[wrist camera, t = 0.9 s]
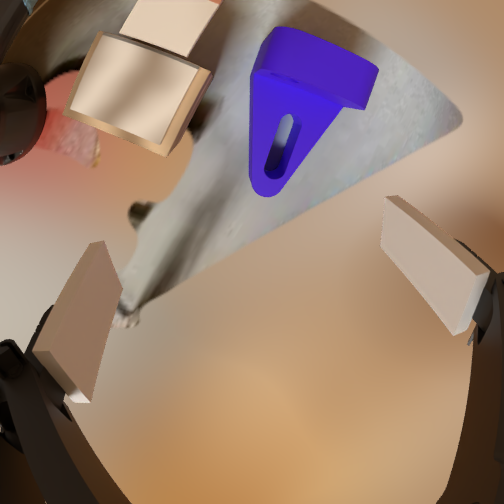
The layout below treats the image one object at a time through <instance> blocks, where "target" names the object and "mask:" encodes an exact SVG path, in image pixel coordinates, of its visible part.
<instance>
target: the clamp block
mask: <svg viewBox="0 0 504 504" xmlns="http://www.w3.org/2000/svg"><path fill="white" fill-rule="evenodd" d="M212 80H213V76H212V74H211V71H208V70H206V69H204V68H202V67H200V66H198V65H196V64H194V63H191V62H189V61H187V60H184V59H182V58H179V57H177V56H174V55H172V54H169V53H167V52H164V51H161V50H159V49H156V48H153V47H151V46H148V45H145V44H142V43H139V42H136V41H133V40H130V39H127V38H124V37H121V36H117V35H114V34H111V33H107V32H102V31H99V32H98V34H97V36H96V38H95V40H94V41H93V43H92V45H91V47H90V50H89V52H88V54H87V56H86V58H85V60H84V62H83V64H82V67H81V69H80V71H79V74H78V76H77V78H76V81H75V83H74V85H73V88H72V90H71V93H70V96H69V98H68V101H67V104H66V106H65V109H64V112H63V115H64V116H67V117H69V118H72V119H75V120H77V121H80V122H82V123H85V124H87V125H90V126H92V127H95V128H97V129H100V130H102V131H105V132H107V133H110V134H112V135H115V136H117V137H120V138H122V139H124V140H127V141H129V142H132V143H134V144H136V145H139V146H141V147H143V148H146V149H148V150H150V151H153V152H155V153H157V154H159V155H162V156H164V157H167V156H168V155H169V154H170V153H171V151H172V150H173V149H174V148H175V147H176V145H177V144H178V143H179V142H180V140H181V138H182V136H183V134H184V132H185V130H186V128H187V126H188V124H189V122H190V120H191V118H192V116H193V115H194V113H195V111H196V109H197V107H198V105H199V103H200V101H201V99H202V98H203V96H204V94H205V92H206V90H207V89H208V87H209V85H210V83H211V81H212Z"/></svg>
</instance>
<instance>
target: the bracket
mask: <svg viewBox="0 0 504 504" xmlns="http://www.w3.org/2000/svg"><path fill="white" fill-rule="evenodd" d="M378 72H379V69H378V67H377V66H375V65H374V64H373V63H371V62H369V61H367V60H365V59H364V58H362V57H360V56H358V55H356V54H354V53H352V52H349V51H347V50H345V49H343V48H341V47H339V46H337V45H334V44H332V43H330V42H328V41H325V40H323V39H321V38H318V37H316V36H313V35H311V34H308V33H306V32H303V31H300V30H297V29H294V28H289V27H275V28H274V29H273V30H272V32H271V33H270V34H269V35H268V37H267V38H266V39H265V40H264V41H263V43H262V44H261V47H260V50H259V52H258V55H257V58H256V61H255V63H254V66H253V69H252V72H251V75H250V116H249V178H250V181H251V184H252V187H253V189H254V191H255V192H256V193H257V194H258V195H260V196H263V197H272V196H274V195H276V194H278V193H279V192H280V191H281V189H282V188H283V187H284V185H285V184H286V183H287V181H288V180H289V179H290V177H291V176H292V175H293V173H294V172H295V170H296V169H297V168H298V166H299V165H300V164H301V162H302V161H303V160H304V158H305V157H306V156H307V154H308V153H309V152H310V150H311V149H312V148H313V146H314V145H315V144H316V142H317V141H318V140H319V138H320V137H321V136H322V134H323V133H324V132H325V130H326V129H327V128H328V126H329V125H330V124H331V123H332V121H333V120H334V119H335V117H336V116H337V115H338V113H339V112H340V111H341V109H342V108H343V107H348V108H354V109H360V110H365V108H366V106H367V103H368V100H369V97H370V94H371V92H372V89H373V86H374V83H375V80H376V77H377V74H378ZM286 114H291V115H292V117H293V120H294V123H293V126H292V129H291V132H290V134H289V137H288V140H287V143H286V146H285V148H284V151H283V154H282V157H281V160H280V163H279V165H278V167H277V168H276V169H274V170H272V171H267V170H264V166H265V163H266V160H267V157H268V154H269V151H270V148H271V146H272V143H273V140H274V137H275V134H276V131H277V128H278V125H279V123H280V120H281V118H282V117H283V116H284V115H286Z"/></svg>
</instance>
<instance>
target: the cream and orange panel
mask: <svg viewBox="0 0 504 504" xmlns="http://www.w3.org/2000/svg"><path fill="white" fill-rule="evenodd" d="M223 1H224V0H138V2H137V3H136V5H135V7H134V8H133V10H132V11H131V13H130V15H129V16H128V18H127V20H126V21H125V23H124V25H123V27H122V28H121V30H120V32H119V33H121V34H123V35H126V36H129V37H132V38H135V39H138V40H141V41H144V42H147V43H150V44H153V45H155V46H158V47H161V48H164V49H166V50H169V51H171V52H174V53H177V54H179V55H181V56H184V57H186V58H188V56H189V54H190V53H191V51H192V49H193V48H194V46H195V44H196V42H197V41H198V39H199V38H200V36H201V34H202V33H203V31H204V30H205V28H206V26H207V25H208V23H209V22H210V20H211V19H212V17H213V16H214V14H215V13H216V11H217V10H218V8H219V7H220V5H221V4H222V2H223Z"/></svg>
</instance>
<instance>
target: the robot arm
mask: <svg viewBox="0 0 504 504" xmlns="http://www.w3.org/2000/svg"><path fill="white" fill-rule="evenodd" d="M37 1H38V0H0V165H1V166H2V165H7V164H10V163H12V162H14V161H16V160H18V159H20V158H22V157H24V156H25V155H26V154H27V153H28V152H29V151H30V150H31V149H32V148H33V147H34V145H35V144H36V142H37V140H38V138H39V136H40V134H41V131H42V129H43V125H44V122H45V116H46V92H45V88H44V85H43V82H42V80H41V78H40V76H39V74H38V73H37V72H36V71H35V70H34V69H33V68H32V67H30V66H29V65H27V64H23V63H6V64H2V65H1V63H2V61H3V59H4V57H5V55H6V53H7V51H8V49H9V48H10V46H11V44H12V42H13V40H14V39H15V37H16V35H17V34H18V32H19V30H20V28H21V27H22V25H23V24H24V22H25V20H26V19H27V17H28V16H30V15H31V13H32V11H33V7H34V6H35V4H36V2H37ZM380 247H381V248H382V249H383V251H384V252H385V253H386V254H387V255H388V256H389V257H390V258H391V260H392V261H393V262H394V263H395V264H396V265H397V267H398V268H399V269H400V270H401V271H402V272H403V274H404V275H405V276H406V277H407V278H408V279H409V281H410V282H411V283H412V284H413V285H414V287H415V288H416V289H417V290H418V291H419V293H420V294H421V295H422V296H423V298H424V299H425V300H426V301H427V303H428V304H429V305H430V306H431V308H432V309H433V310H434V312H435V313H436V314H437V315H438V317H439V318H440V319H441V321H442V322H443V323H444V325H445V326H446V327H447V328H448V330H449V331H450V333H451V334H452V335H453V336H454V335H456V334H459V333H461V332H464V331H466V330H467V329H468V326H469V324H470V322H471V320H472V318H473V320H474V321H475V322H476V323H477V324H476V326H475V328H474V330H473V333H472V335H471V337H470V339H469V341H468V345H470V343H471V341H473V355H472V366H471V376H470V384H469V392H468V399H467V405H466V411H465V417H464V422H463V427H462V432H461V436H460V441H459V445H458V449H457V453H456V457H455V460H454V464H453V468H452V471H451V475H450V478H449V481H448V484H447V487H446V489H445V491H444V493H443V495H442V496H441V497H440V499H439V500H438V501H437V503H436V504H504V272H501V273H498V274H497V273H496V272H495V271H494V270H493V269H492V268H491V267H490V266H489V265H488V264H486V263H485V262H484V261H483V260H482V259H481V258H480V257H479V256H478V257H477V255H476V254H475V253H474V252H473V251H471V249H470V248H468V247H467V246H466V245H465V244H464V243H462V242H460V241H458V240H456V239H454V238H452V237H451V236H450V235H449V234H447V233H446V232H445V231H444V230H443V229H441V228H440V227H439V226H438V225H436V224H435V223H434V222H433V221H431V220H430V219H429V218H427V217H426V216H425V215H424V214H422V213H421V212H419V211H418V210H417V209H416V208H414V207H413V206H412V205H410V204H409V203H408V202H406V201H405V200H403V199H402V198H401V197H399V196H398V195H397V196H387V197H385V199H384V212H383V223H382V234H381V243H380ZM122 290H123V288H122V286H121V283H120V281H119V278H118V276H117V273H116V271H115V268H114V266H113V264H112V261H111V258H110V255H109V253H108V250H107V247H106V245H105V242H104V241H100V242H95V243H90V244H89V246H88V248H87V249H86V251H85V252H84V254H83V256H82V257H81V259H80V260H79V262H78V264H77V266H76V267H75V269H74V271H73V272H72V274H71V276H70V278H69V279H68V281H67V283H66V284H65V286H64V288H63V290H62V292H61V294H60V295H59V297H58V299H57V301H56V303H55V305H52V306H51V307H50V308H49V309H48V310H47V311H46V312H45V313H44V315H43V317H42V318H41V320H40V322H39V325H38V326H37V328H36V332H35V333H34V334H33V336H32V338H31V340H30V343H29V345H28V347H27V349H26V351H25V353H24V354H23V352H22V351H21V350H20V348H19V347H18V346H17V344H16V343H15V341H14V340H11V339H7V340H4V341H2V342H0V427H1V432H0V504H46V503H47V504H131V503H130V501H129V500H128V499H127V497H126V496H125V495H124V494H123V492H122V491H121V490H120V488H119V487H118V486H117V484H116V483H115V482H114V480H113V479H112V478H111V476H110V475H109V473H108V472H107V471H106V469H105V468H104V467H103V465H102V464H101V462H100V460H99V459H98V457H97V456H96V454H95V453H94V451H93V450H92V448H91V446H90V445H89V443H88V441H87V440H86V438H85V436H84V435H83V433H82V431H81V430H80V428H79V426H78V424H77V423H76V421H75V419H74V417H73V416H72V413H71V411H70V410H69V408H68V406H67V405H66V404H65V403H64V401H63V400H64V396H65V393H66V394H67V395H68V396H69V397H70V399H71V400H72V401H73V402H80V403H91V400H92V395H93V391H94V386H95V382H96V378H97V374H98V370H99V366H100V363H101V359H102V355H103V352H104V348H105V345H106V341H107V338H108V334H109V331H110V327H111V324H112V321H113V318H114V314H115V311H116V308H117V305H118V302H119V299H120V296H121V293H122ZM44 499H45V500H44ZM45 501H46V503H45Z"/></svg>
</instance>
